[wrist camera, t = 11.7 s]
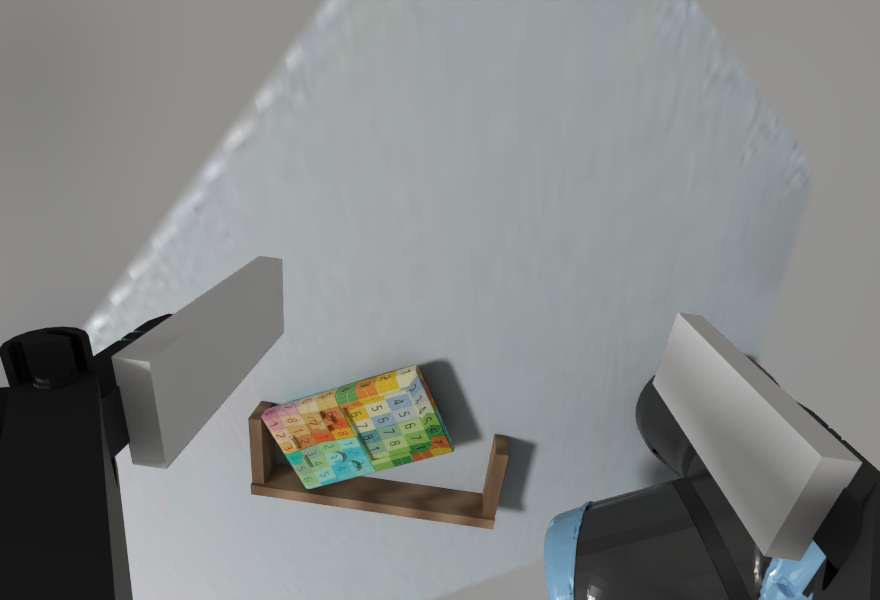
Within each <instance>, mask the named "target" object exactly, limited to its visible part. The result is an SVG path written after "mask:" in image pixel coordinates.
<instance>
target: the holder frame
mask: <svg viewBox="0 0 880 600" xmlns="http://www.w3.org/2000/svg"><path fill="white" fill-rule="evenodd" d="M272 407H273V403H271V402H264V401H261V402H260V404H259V405H258V406H257V408H256V409H255V410H254V412H253V413H252V415H251V416H250V417H249V419H248V420H249V435H250V451H251V466H252V484H251V494H254V495H261V496H268V497H275V498H282V499H288V500H295V501H302V502H309V503H316V504H323V505H330V506H336V507H343V508H350V509H357V510H364V511H371V512H377V513H384V514H391V515H398V516H405V517H412V518H418V519H425V520H432V521H439V522H446V523H453V524H460V525H466V526H473V527H480V528H487V529H493V527H494V522H495V514H496V510H497V505H498V501H499V496H500V492H501V488H502V483H503V479H504V475H505V470H506V466H507V461H508V457H509V454H508V443H507V436H503V435H496V434H495V436H494V441H493V445H492V450H491V455H490V460H489V465H488V470H487V474H486V479H485V484H484V489H483V494H479V493H472V492H466V491H459V490H452V489H445V488H438V487H431V486H424V485H417V484H410V483H403V482H396V481H389V480H383V479H376V478H369V477H362V476H357V477H354V478H350V479H346V480H342V481H338V482H335V483H331V484H327V485H323V486H319V487H315V488H312V489H306V488H305V486H304V485H303V483H302V481H301V480H300V478H299V477H298V475H297V474H296V472H295V470H294V469H293V467H292V466H286V465H279V464H275V441H274V437H273V436H272V434H271V432H270V431H269V429H268V428H267V426H266V425H265V423H264V421H263V420H262V418H261V417H260V416H261V415H262V413H263V412H264V411H265V410H266V409H269V408H272Z"/></svg>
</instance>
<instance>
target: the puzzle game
mask: <svg viewBox="0 0 880 600" xmlns="http://www.w3.org/2000/svg"><path fill="white" fill-rule="evenodd" d="M260 417H261V418H262V420H263V421H264V423H265V425H266V426H267V428H268V429H269V431H270V432H271V434H272V436H273V437H274V439H275V440H276V442H277V443H278V445H279V447H280V448H281V450H282V451H283V453H284V455H285V456H286V458H287V459H288V461H289V462H290V464H291V466H292V467H293V469H294V470H295V472H296V474H297V475H298V477H299V478H300V480H301V481H302V483H303V485H304V486H305V488H306V489H312V488H315V487H319V486H323V485H327V484H331V483H335V482H338V481H342V480H346V479H350V478H354V477H357V476H361V475H365V474H369V473H373V472H376V471H380V470H384V469H388V468H392V467H395V466H399V465H403V464H407V463H411V462H415V461H418V460H422V459H426V458H430V457H434V456H437V455H441V454H445V453H449V452H453V451H454V444H453V442H452V439H451V437H450V435H449V433H448V431H447V428H446V426H445V424H444V422H443V420H442V418H441V415H440V413H439V411H438V409H437V407H436V404H435V402H434V400H433V398H432V396H431V393H430V391H429V389H428V387H427V385H426V383H425V380H424V378H423V376H422V374H421V372H420V369H419V367H418V365H413V366H410V367H407V368H403V369H400V370H397V371H391V372H387V373H384V374H381V375H377V376H374V377H371V378H367V379H364V380H361V381H357V382H354V383H351V384H347V385H344V386H341V387H337V388H334V389H331V390H327V391H324V392H321V393H317V394H314V395H311V396H307V397H304V398H301V399H297V400H294V401H291V402H287V403H284V404H281V405H277V406H274V407H272V408H269V409H266V410H265V411H264V412H263V413H262V415H261V416H260Z"/></svg>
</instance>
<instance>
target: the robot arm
mask: <svg viewBox="0 0 880 600" xmlns="http://www.w3.org/2000/svg"><path fill="white" fill-rule="evenodd" d="M283 333H284V317H283V275H282V259H279V258H271V257H264V256H259V257H257V258H256V259H254V260H253V261H251V262H250V263H248V264H247V265H245V266H244V267H242V268H241V269H239V270H238V271H237V272H235V273H234V274H232V275H231V276H229V277H228V278H226V279H225V280H223V281H222V282H220V283H219V284H217V285H216V286H215V287H213V288H212V289H210V290H209V291H207V292H206V293H204V294H203V295H201V296H200V297H198V298H197V299H195V300H194V301H193V302H191V303H190V304H188V305H187V306H185V307H184V308H182V309H181V310H179V311H178V312H176V313H175V314H166V315H163V316H161V317H158V318H155V319H152V320H149V321H147V322H146V323H144V324H143V325H141V326H140V327H138V328H136V329H135V330H134V332H133V333H132V332H130V333H129V334H127V335H126V336H124V337H123V338H121V341H120V340H118V341H116V342H115V343H113V344H112V345H110V346H109V347H107V348H106V349H104V350H103V351H101V352H99V353H98V354H96V355H95V356H93V354H92V349H91V344H90V340H89V336H88V334H87V333H86V331H84V330H81V329H79V328H74V327H51V328H43V329H39V330H34V331H29V332H26V333H24V334H21V335H18V336H15V337H13V338H12V339H10V340H8V341H6V342H5V343H3V344H2V346H1V347H0V357H1V360H2V363H3V366H4V369H5V373H6V376H7V379H8V383H9V386H10V387H1V388H0V600H133V598H132V589H131V580H130V572H129V563H128V554H127V546H126V537H125V528H124V520H123V511H122V502H121V494H120V485H119V476H118V468H117V463H116V459H115V456H116V455H117V454H118V453H119V452H120V451H121V450H122V449H123V448H124V447H125V446H126V445H127V444H128V443H129V448H130V453H131V458H132V463H133V464H135V465H142V466H149V467H155V468H162V469H167V468H168V467H169V466H170V465H171V464H172V462H173V461H174V460H175V459H176V458H177V456H178V455H179V454H180V453H181V452H182V451H183V449H184V448H185V447H186V446H187V445H188V444H189V442H190V441H191V440H192V439H193V438H194V437H195V435H196V434H197V433H198V432H199V431H200V430H201V428H202V427H203V426H204V425H205V424H206V423H207V421H208V420H209V419H210V418H211V417H212V416H213V414H214V413H215V412H216V411H217V410H218V409H219V407H220V406H221V405H222V404H223V403H224V402H225V400H226V399H227V398H228V397H229V396H230V395H231V393H232V392H233V391H234V390H235V389H236V388H237V386H238V385H239V384H240V383H241V382H242V381H243V379H244V378H245V377H246V376H247V375H248V374H249V372H250V371H251V370H252V369H253V368H254V367H255V365H256V364H257V363H258V362H259V361H260V360H261V358H262V357H263V356H264V355H265V354H266V353H267V351H268V350H269V349H270V348H271V347H272V346H273V344H274V343H275V342H276V341H277V340H278V339H279V337H280V336H281V335H282V334H283ZM636 422H637V426H638V429H639V431H640V433H641V435H642V437H643V439H644V441H645V443H646V445H647V446H648V448H649V449H650V450H651V452H652V453H653V454H654V455H655V456H656V457H657V458H658V459H659V460H661V461H662V462H663V463H665V464H666V465H667V466H668V467H669V468H670V469H671V470H672V471H674V472H675V473H676V474H677V475H678V476H679V477H681V478H680V479H677V480H673V481H669V482H665V483H662V484H658V485H655V486H651V487H648V488H644V489H641V490H637V491H633V492H630V493H626V494H622V495H618V496H615V497H611V498H607V499H603V500H600V501H596V502H592V501H589V502H586V503H585V504H584V505H583V506H581V507H579V508H576V509H573V510H570V511H567V512H564V513H561V514H559V515H557V516H555V517H554V518H553V519H552V520H551V522H550V524H549V526H548V528H547V533H546V535H545V543H544V562H545V574H546V582H547V589H548V595H549V600H880V471H878V470H877V469H876V468H875V467H874V466H873V465H872V464H871V463H869V462H868V461H867V460H866V459H865V458H864V457H863V456H861V454H860V453H858V452H857V451H856V450H855V449H854V448H853V447H852V446H851V445H849V444H848V443H847V442H846V441H845V440H841V437H840V436H839V435H838V434H837V433H836V432H835V431H834V430H833V429H831V428H828V425H827V424H826V423H825V422H824V421H822V419H820V418H819V417H818V416H817V415H816V414H815V413H814V412H812V411H811V410H809V409H808V408H806V407H804V406H803V405H801V404H800V403H798V402H796V401H795V400H793V399H792V398H791V397H790V396H789V395H788V394H787V393H786V392H784V391H783V390H782V389H781V388H780V386H779V385H778V383H777V382H776V381H775V380H774V378H773V377H772V376H771V375H769V374H768V373H767V372H766V371H765V370H764V369H763V368H762V367H761V366H760V365H758V364H757V363H756V362H754V361H752V360H751V359H749V358H747V357H746V356H745V355H744V354H743V353H742V352H741V351H740V350H739V349H738V348H736V347H735V346H734V345H733V344H732V343H731V342H730V341H729V340H728V339H727V338H725V337H724V336H723V335H722V334H721V333H720V332H719V331H718V330H717V329H716V328H715V327H713V326H712V325H711V324H710V323H709V322H708V321H707V320H706V319H705V318H704V317H702V316H700V315H693V314H685V313H678V314H677V317H676V320H675V322H674V325H673V328H672V331H671V333H670V336H669V339H668V342H667V344H666V347H665V350H664V353H663V356H662V358H661V361H660V364H659V367H658V369H657V372H656V375H655V376H653V378H652V379H651V380H650V381H649V382H648V383H647V385H646V386H645V387H644V389H643V391H642V392H641V395H640V397H639V399H638V402H637V407H636Z"/></svg>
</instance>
